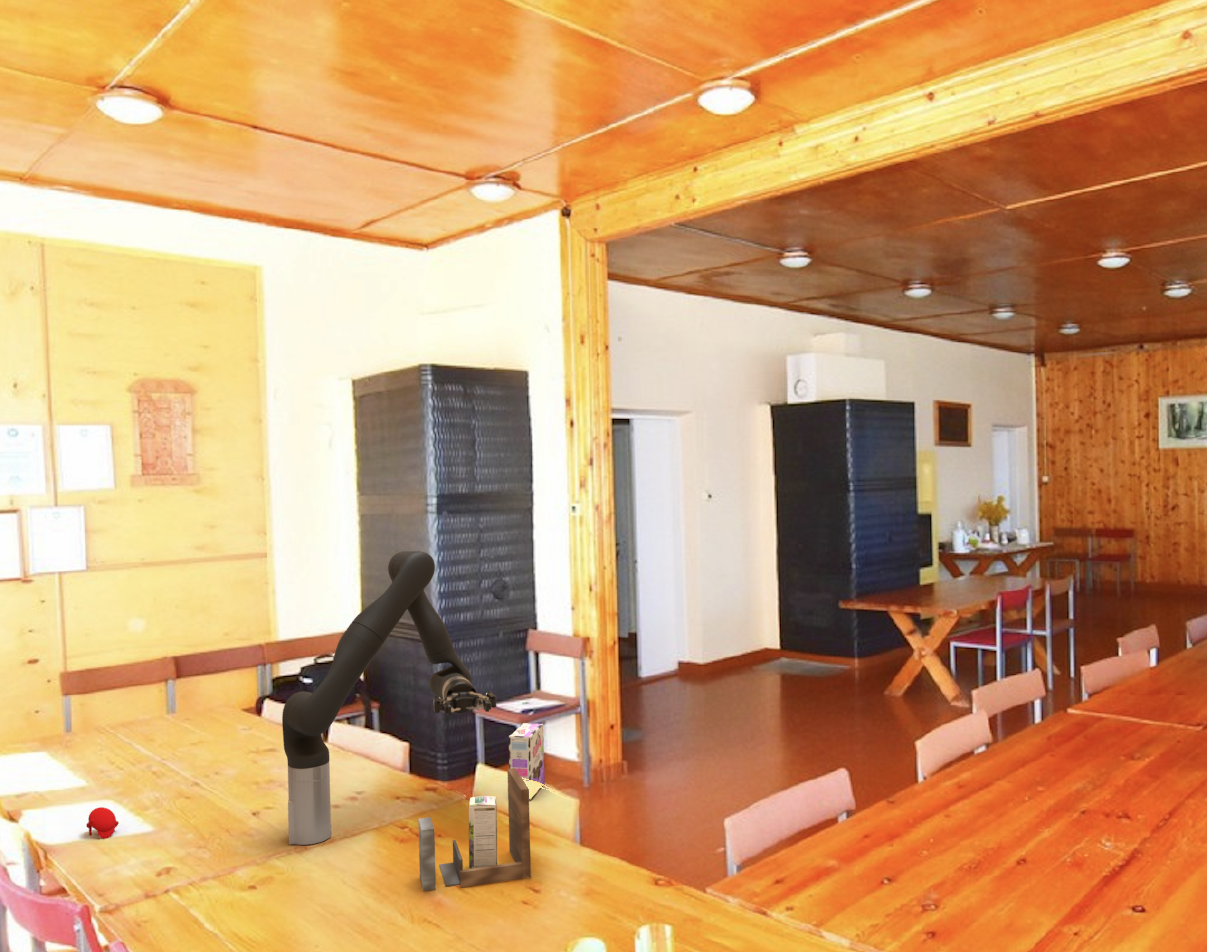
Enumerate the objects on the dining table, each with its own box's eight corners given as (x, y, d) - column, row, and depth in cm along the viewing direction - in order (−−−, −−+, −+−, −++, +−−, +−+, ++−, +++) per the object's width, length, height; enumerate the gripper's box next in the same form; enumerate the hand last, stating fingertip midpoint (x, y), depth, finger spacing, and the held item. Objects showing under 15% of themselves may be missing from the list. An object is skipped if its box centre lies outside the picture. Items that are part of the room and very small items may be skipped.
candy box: (531, 801, 238) (529, 736, 238) (509, 800, 239) (507, 735, 239) (545, 784, 251) (544, 722, 251) (524, 783, 252) (522, 722, 253)
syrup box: (470, 865, 198) (468, 796, 198) (498, 863, 199) (496, 794, 199) (469, 876, 193) (467, 805, 193) (498, 874, 193) (496, 803, 193)
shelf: (423, 893, 185) (421, 801, 185) (416, 864, 200) (414, 779, 200) (530, 877, 191) (528, 788, 191) (516, 850, 206) (514, 768, 206)
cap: (79, 820, 223) (81, 813, 219) (104, 805, 227) (107, 798, 223) (96, 848, 222) (99, 842, 217) (121, 833, 226) (124, 826, 222)
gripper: (428, 681, 225) (436, 695, 209) (488, 676, 229) (499, 689, 213) (429, 712, 225) (437, 728, 209) (488, 707, 229) (500, 722, 213)
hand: (468, 709), depth 211 cm, fingers open, 8 cm apart
